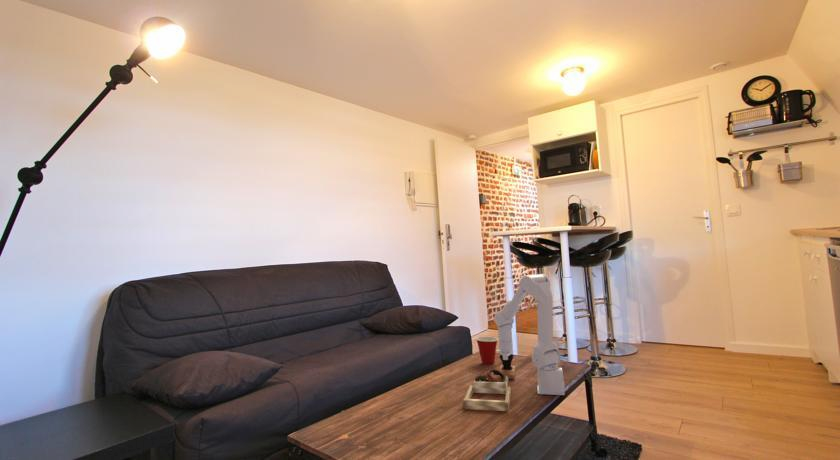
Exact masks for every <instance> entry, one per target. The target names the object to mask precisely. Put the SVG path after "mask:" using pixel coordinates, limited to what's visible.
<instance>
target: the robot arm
mask: <svg viewBox="0 0 840 460" xmlns="http://www.w3.org/2000/svg"><path fill="white" fill-rule="evenodd" d="M527 295H529V296H531V297H532V298H534V299H535V300H536V302H537V303H536V305H537V342H536V343H535V344H534V346H533V352H532V354H531V361H532V364H533V366H534V367H535V368H536V371H537V372H536V373H537V386H536V387H537V389H536V390H537V394H538V395H548V396H549V395H553V396H565V395H566V394H565V389H566V387H565V381H564V372H563V368H562V367H559V365H558V364H559V363H560V362H561V360H562V359H561V358H562V357H561V354H560V351H559V346H558V345H557V343H555V342H554V324H553V323H554V320H553V319H554V318H553V317H554V311H553V309H554V307H553V306H554V303H553V301H554V300H553V294H552V290H551V280H550V279H549V278H548V276H547V275H546V274H544V273H540V274H539V273H538V274H533V275H524V276H522V277H521V279H520V280H519V282H518V288H517V290H516V291H515V293H514V295H513V296H512V299H508V300H506V301H505V304H504V306H503V307H502V308H501V310H500V311H499V312H496V313H495V314H494V323H495V324H496V325H495V326H497V334H498V347H499V348H498V349H496V353H498V354H499V359H500V362H502V366H503V367H504V370H511V366H512V361H513V359H514V351H515V350H514V347H513V334H512V333H513V332H512V329H513V326H514V325H513V324H514V322H515V318H514V317H515V316H516V315H517V313H518V311H519V310H520V309H521V306H520V304H521V303H522V302H523V300H524V299H526V297H527Z"/></svg>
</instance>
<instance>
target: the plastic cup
mask: <svg viewBox="0 0 840 460" xmlns="http://www.w3.org/2000/svg"><path fill="white" fill-rule="evenodd" d="M475 340H476V342H477V347H478V351H479V356H480V360H481V362H482V363H481V364H483V365H487V366H488V365H494V364H495V361H496V359H495V358H496V353H497V344H498V342H499V337H498V338H497V337H494V336H477V337H475Z"/></svg>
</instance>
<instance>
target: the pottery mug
mask: <svg viewBox="0 0 840 460" xmlns="http://www.w3.org/2000/svg"><path fill="white" fill-rule="evenodd" d="M492 373H493V375H491V374H492ZM494 376H499V378H500V377H501V379H500V380H498V379H497V378H495V377H494ZM474 381H482V382H505V376H504V375H503V374H502V373H501V372H500V370H497V369H495V368H494V369H493V368H491V369H488V371H485V372H484V373H483V374H482V375H481V374H479V375H477V376H476V377H475V379H474Z"/></svg>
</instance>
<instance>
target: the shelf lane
mask: <svg viewBox="0 0 840 460" xmlns="http://www.w3.org/2000/svg"><path fill="white" fill-rule="evenodd" d="M511 391H512V390H511V386H507V391H506V394H505V400H500V399H499V400H497V399H496V400H495V399H476V398H475V399H473V397H472V396H473V394H474V386H473V385H472V384H470V385H469V387H468V389H467V391H466V394H465V397H464V398H463V400H462V401H463V403H462V405H463V409H464V410H476V411H478V410H479V411H480V410H481V411H498V412H510V411H509V410H510V404H511V403H510V402H511V396H512V395H511V394H512V393H511Z"/></svg>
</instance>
